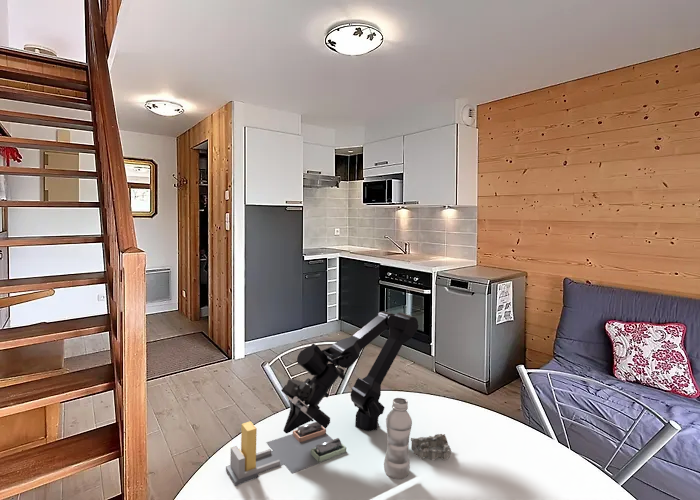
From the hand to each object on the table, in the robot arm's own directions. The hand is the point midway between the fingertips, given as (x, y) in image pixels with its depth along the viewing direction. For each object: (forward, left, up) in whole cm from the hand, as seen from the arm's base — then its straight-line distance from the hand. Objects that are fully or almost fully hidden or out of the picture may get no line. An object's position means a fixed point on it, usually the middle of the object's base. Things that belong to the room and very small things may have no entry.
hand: (285, 432), depth 108 cm
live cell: (-11, -4, -6) cm, 14 cm away
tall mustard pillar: (+7, +7, -6) cm, 12 cm away
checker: (0, 0, -7) cm, 8 cm away
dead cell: (-4, -11, -6) cm, 14 cm away
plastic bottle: (-30, 0, -8) cm, 31 cm away
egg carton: (-39, -12, -8) cm, 42 cm away
